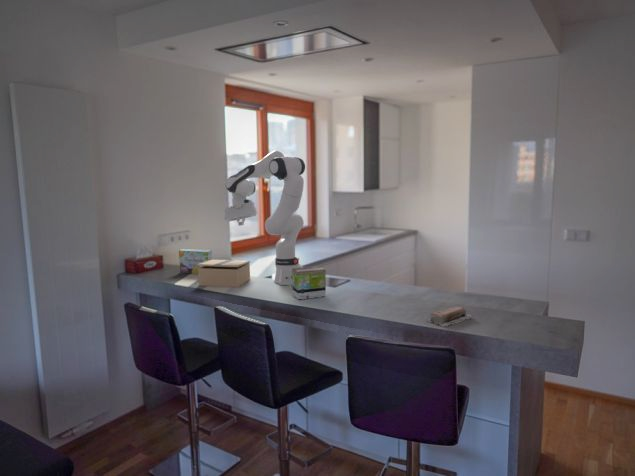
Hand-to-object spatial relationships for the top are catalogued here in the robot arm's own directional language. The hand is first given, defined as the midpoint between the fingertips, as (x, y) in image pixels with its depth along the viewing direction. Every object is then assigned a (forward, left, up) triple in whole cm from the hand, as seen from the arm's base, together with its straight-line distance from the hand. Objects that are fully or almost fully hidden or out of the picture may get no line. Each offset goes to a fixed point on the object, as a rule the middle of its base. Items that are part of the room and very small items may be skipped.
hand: (241, 225), depth 287 cm
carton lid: (+3, +19, -20) cm, 28 cm away
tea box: (-53, +39, -32) cm, 73 cm away
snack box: (+32, -1, -32) cm, 45 cm away
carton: (+3, +19, -31) cm, 37 cm away
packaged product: (-121, +64, -32) cm, 141 cm away
